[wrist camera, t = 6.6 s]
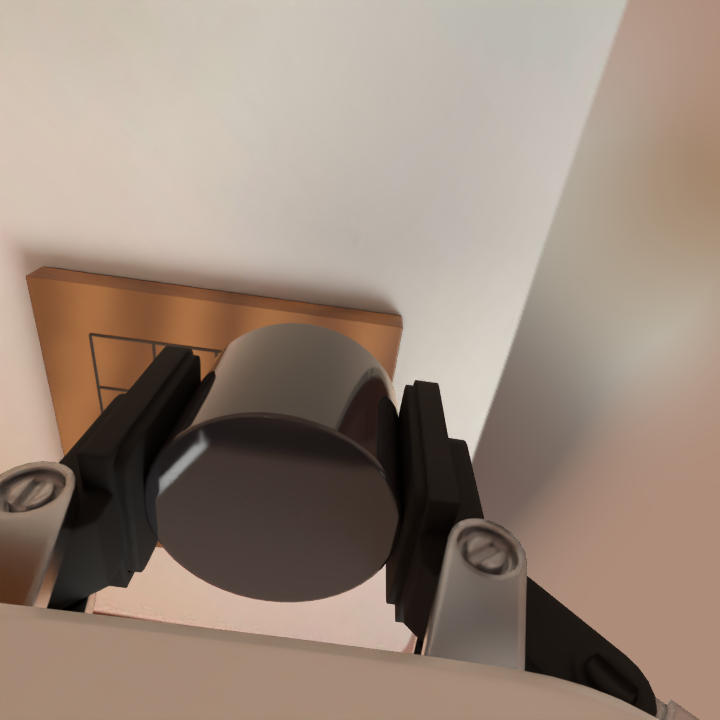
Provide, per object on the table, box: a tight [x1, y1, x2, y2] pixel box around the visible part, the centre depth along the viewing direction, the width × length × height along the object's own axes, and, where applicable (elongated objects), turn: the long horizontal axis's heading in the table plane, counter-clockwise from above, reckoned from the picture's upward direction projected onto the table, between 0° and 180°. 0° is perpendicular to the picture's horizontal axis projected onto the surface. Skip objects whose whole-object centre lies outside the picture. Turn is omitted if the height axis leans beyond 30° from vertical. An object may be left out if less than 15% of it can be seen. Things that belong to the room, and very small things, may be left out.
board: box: [26, 267, 403, 548], centre depth 32 cm, size 20×20×2 cm
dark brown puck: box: [144, 323, 403, 602], centre depth 11 cm, size 5×5×4 cm
